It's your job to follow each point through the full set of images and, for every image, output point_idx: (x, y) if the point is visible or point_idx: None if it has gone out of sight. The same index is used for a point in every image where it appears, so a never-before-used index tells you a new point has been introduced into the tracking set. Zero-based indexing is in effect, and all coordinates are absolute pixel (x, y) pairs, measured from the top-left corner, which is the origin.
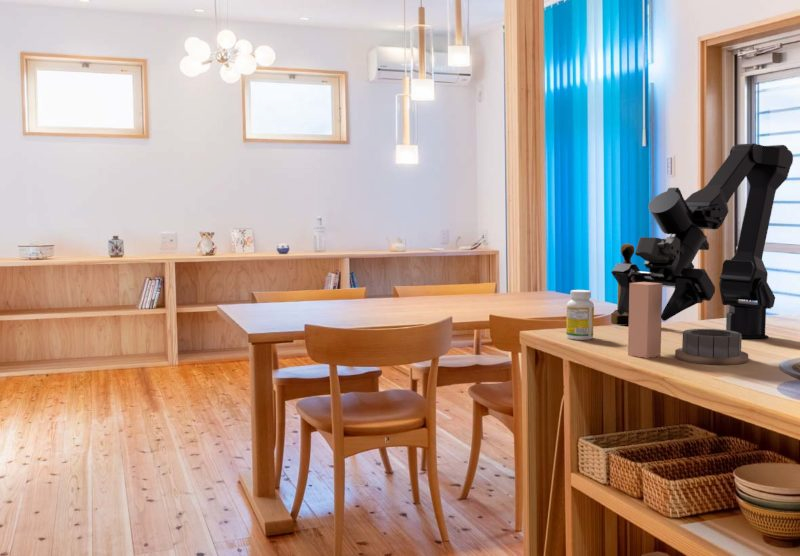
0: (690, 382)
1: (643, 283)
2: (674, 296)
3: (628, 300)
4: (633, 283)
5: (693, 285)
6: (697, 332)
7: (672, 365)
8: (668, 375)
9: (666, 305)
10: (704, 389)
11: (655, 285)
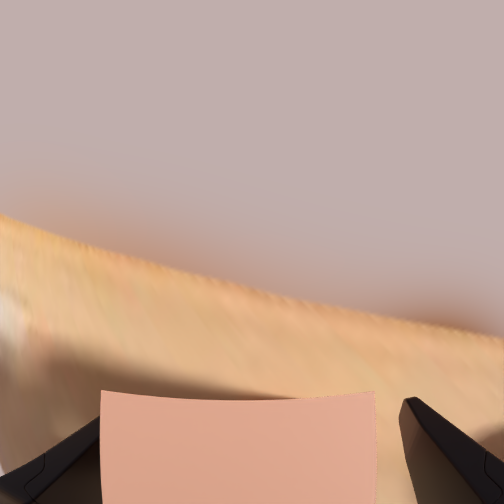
0: (47, 245)
1: (235, 495)
2: (34, 471)
3: (435, 494)
4: (314, 398)
5: None
6: None
7: (131, 369)
8: (90, 261)
9: (89, 442)
10: (26, 224)
11: (109, 501)
